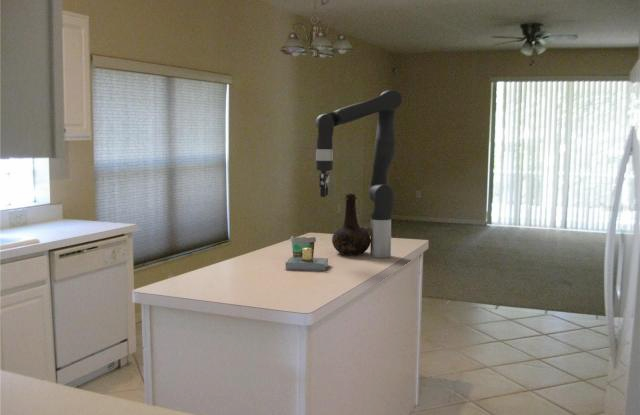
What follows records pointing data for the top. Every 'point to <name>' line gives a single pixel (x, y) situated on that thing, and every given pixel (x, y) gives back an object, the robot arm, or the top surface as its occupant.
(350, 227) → the glass bottle
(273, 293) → the top surface
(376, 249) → the robot arm
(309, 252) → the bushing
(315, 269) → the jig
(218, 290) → the top surface
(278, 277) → the top surface
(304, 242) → the food container
